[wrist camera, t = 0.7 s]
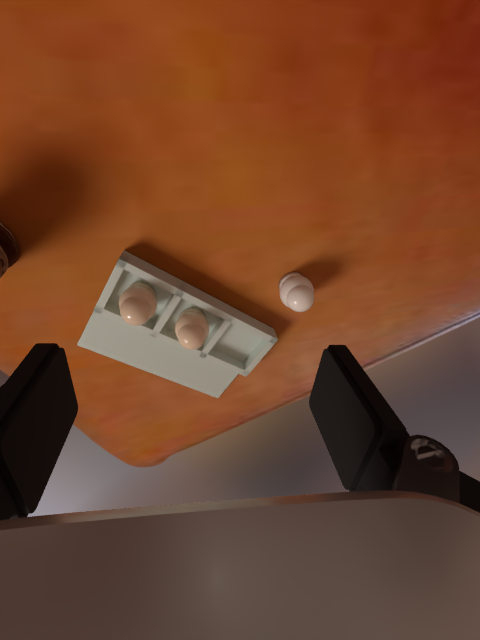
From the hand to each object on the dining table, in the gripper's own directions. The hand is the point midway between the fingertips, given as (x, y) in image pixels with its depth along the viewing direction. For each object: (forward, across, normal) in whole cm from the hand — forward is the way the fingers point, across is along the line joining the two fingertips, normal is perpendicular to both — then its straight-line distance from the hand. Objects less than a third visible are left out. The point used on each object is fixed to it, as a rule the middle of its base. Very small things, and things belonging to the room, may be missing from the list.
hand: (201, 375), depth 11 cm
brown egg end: (+30, +7, +12) cm, 33 cm away
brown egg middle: (+30, 0, +16) cm, 34 cm away
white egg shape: (+31, -14, +10) cm, 36 cm away
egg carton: (+32, +2, +19) cm, 37 cm away
